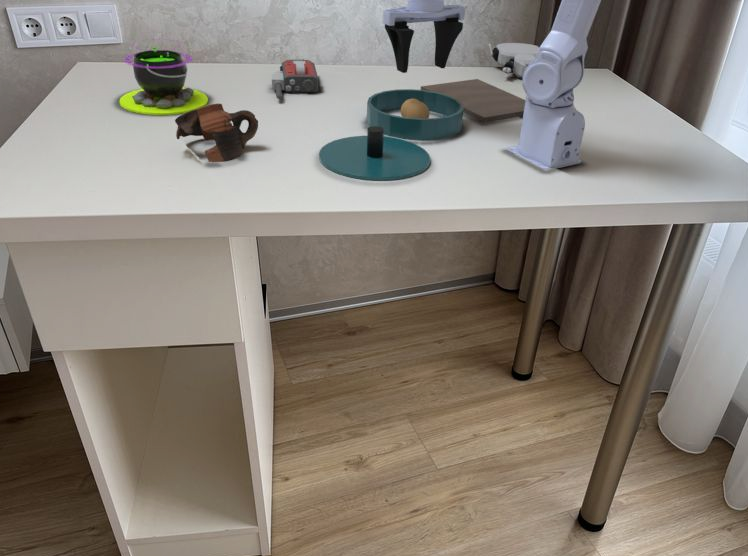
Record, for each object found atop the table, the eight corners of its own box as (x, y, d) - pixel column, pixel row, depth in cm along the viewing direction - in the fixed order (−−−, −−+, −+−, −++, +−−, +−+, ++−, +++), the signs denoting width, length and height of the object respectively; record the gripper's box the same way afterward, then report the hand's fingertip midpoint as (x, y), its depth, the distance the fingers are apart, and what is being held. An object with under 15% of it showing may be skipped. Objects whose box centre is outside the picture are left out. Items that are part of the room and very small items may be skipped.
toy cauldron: (187, 119, 116) (179, 49, 110) (103, 109, 118) (89, 40, 111) (220, 93, 128) (214, 29, 122) (143, 84, 130) (132, 21, 123)
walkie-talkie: (271, 74, 140) (273, 105, 124) (269, 50, 137) (272, 80, 122) (314, 74, 142) (322, 105, 126) (314, 51, 139) (322, 80, 123)
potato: (433, 127, 118) (435, 104, 116) (413, 131, 117) (415, 106, 114) (414, 117, 122) (416, 94, 120) (395, 120, 120) (396, 97, 118)
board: (542, 114, 129) (543, 107, 128) (483, 124, 122) (484, 117, 122) (476, 84, 142) (477, 78, 141) (420, 92, 136) (420, 86, 135)
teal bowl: (479, 135, 118) (482, 111, 116) (399, 149, 110) (401, 124, 108) (426, 106, 129) (428, 85, 126) (350, 118, 121) (350, 95, 119)
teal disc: (451, 172, 104) (454, 139, 101) (353, 192, 96) (354, 157, 93) (392, 136, 115) (393, 105, 112) (300, 151, 107) (298, 118, 104)
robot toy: (555, 86, 147) (538, 62, 158) (560, 64, 144) (542, 41, 155) (499, 85, 146) (485, 60, 157) (502, 63, 143) (488, 39, 154)
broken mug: (192, 173, 100) (167, 116, 97) (193, 177, 108) (171, 125, 106) (270, 144, 102) (248, 88, 100) (265, 151, 111) (244, 100, 109)
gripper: (450, -29, 113) (442, 59, 121) (374, -26, 107) (371, 66, 115) (476, -21, 109) (467, 69, 117) (398, -18, 102) (393, 78, 110)
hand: (421, 69), depth 115 cm, fingers open, 7 cm apart
